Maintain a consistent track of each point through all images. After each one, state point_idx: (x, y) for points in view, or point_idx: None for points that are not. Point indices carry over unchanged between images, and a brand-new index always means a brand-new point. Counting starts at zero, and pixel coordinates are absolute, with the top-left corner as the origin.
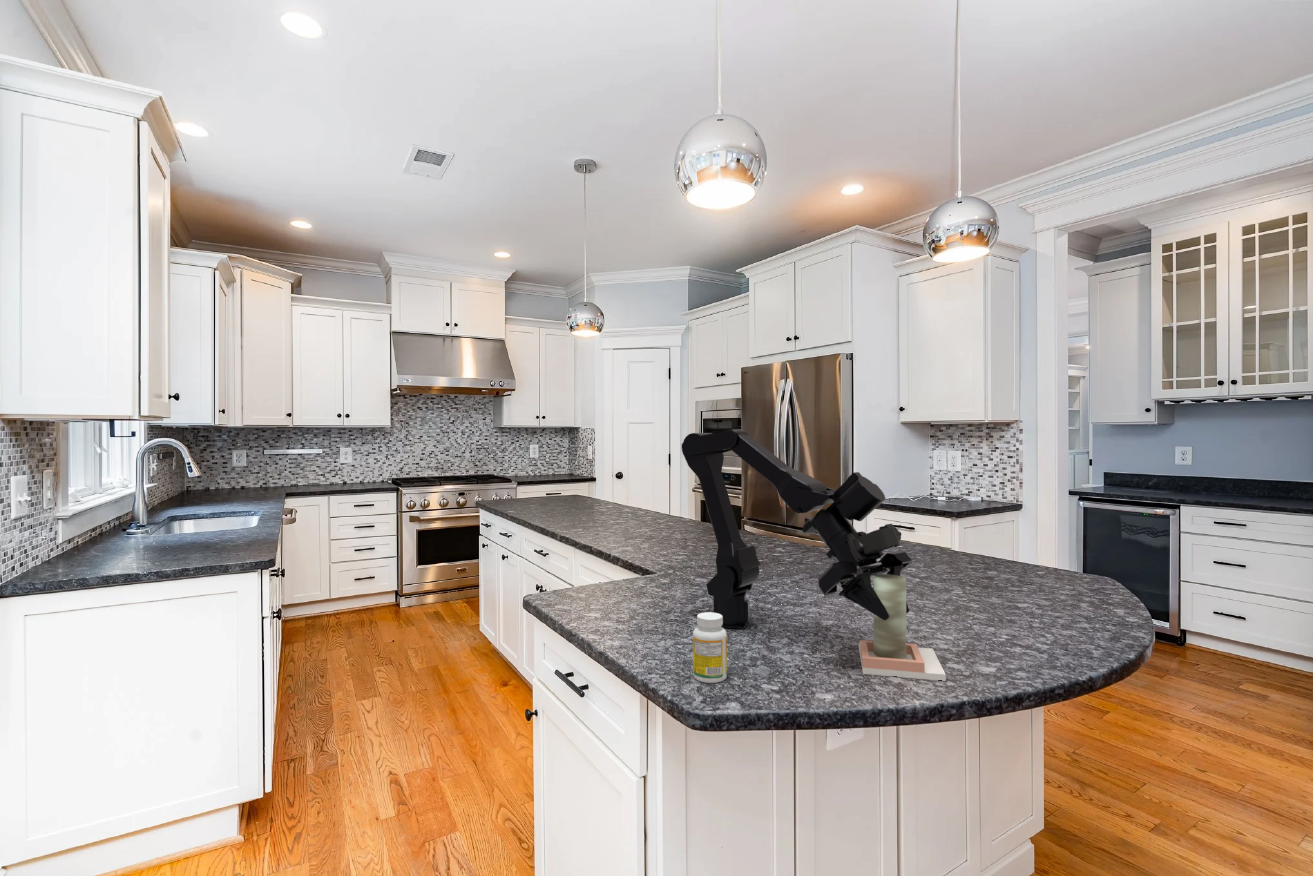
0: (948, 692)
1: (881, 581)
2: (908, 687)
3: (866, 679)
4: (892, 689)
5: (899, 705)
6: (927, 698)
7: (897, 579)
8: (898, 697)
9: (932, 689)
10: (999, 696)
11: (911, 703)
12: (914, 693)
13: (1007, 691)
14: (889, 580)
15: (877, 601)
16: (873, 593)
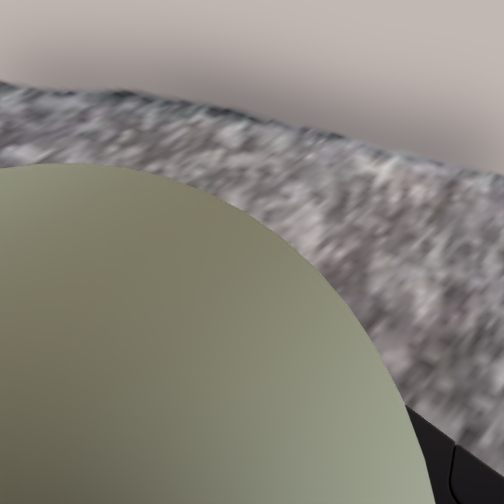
0: (239, 173)
1: (400, 434)
2: (324, 253)
3: (417, 378)
4: (389, 265)
5: (453, 174)
6: (335, 172)
7: (31, 275)
8: (415, 213)
9: (264, 208)
10: (135, 100)
11: (408, 169)
12: (343, 212)
13: (81, 110)
14: (280, 283)
15: (411, 416)
16: (468, 492)
